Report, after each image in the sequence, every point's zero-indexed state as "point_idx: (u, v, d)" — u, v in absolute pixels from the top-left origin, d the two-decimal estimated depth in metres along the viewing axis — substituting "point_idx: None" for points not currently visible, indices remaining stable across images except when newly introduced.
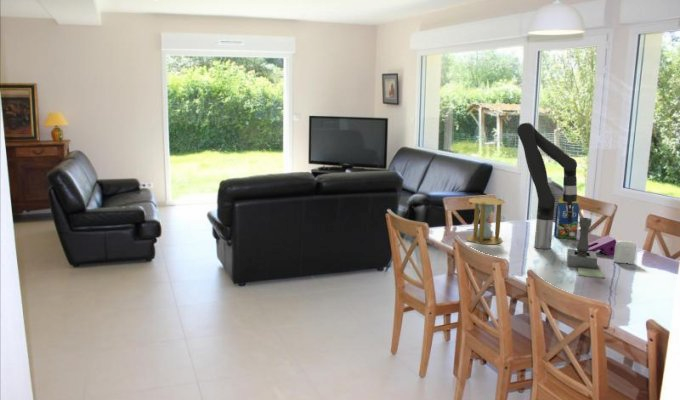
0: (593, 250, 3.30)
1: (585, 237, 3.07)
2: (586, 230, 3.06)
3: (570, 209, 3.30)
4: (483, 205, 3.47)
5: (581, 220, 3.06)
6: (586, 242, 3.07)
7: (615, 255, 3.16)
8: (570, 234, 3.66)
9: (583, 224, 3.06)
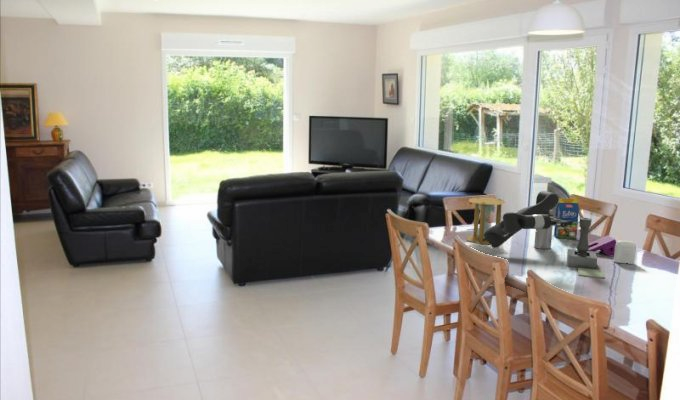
0: (593, 250, 3.30)
1: (585, 237, 3.07)
2: (586, 230, 3.06)
3: (561, 223, 2.96)
4: (483, 205, 3.47)
5: (581, 220, 3.06)
6: (586, 242, 3.07)
7: (615, 255, 3.16)
8: (570, 234, 3.66)
9: (583, 224, 3.06)
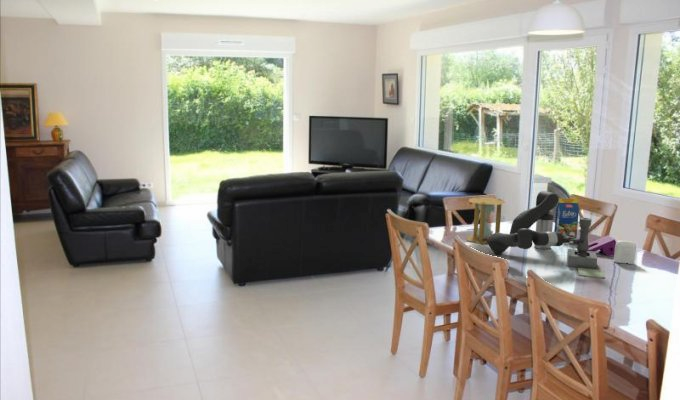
0: (593, 250, 3.30)
1: (585, 237, 3.07)
2: (586, 230, 3.06)
3: (574, 241, 2.98)
4: (483, 205, 3.47)
5: (581, 220, 3.06)
6: (586, 242, 3.07)
7: (615, 255, 3.16)
8: (570, 234, 3.66)
9: (583, 224, 3.06)
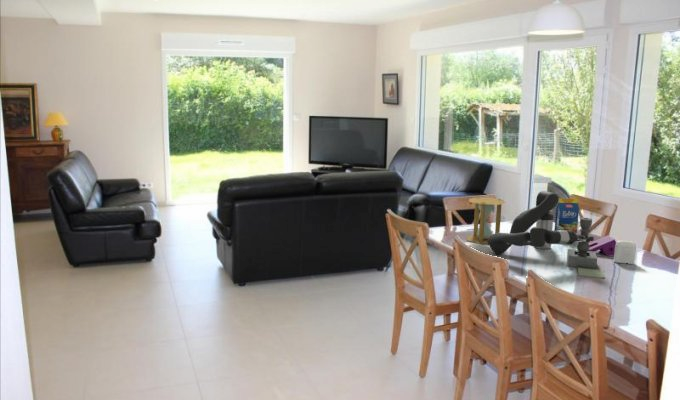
0: (592, 250, 3.30)
1: None
2: (587, 230, 3.06)
3: (586, 239, 3.02)
4: (483, 205, 3.47)
5: (582, 220, 3.06)
6: None
7: (615, 255, 3.16)
8: None
9: (584, 224, 3.05)
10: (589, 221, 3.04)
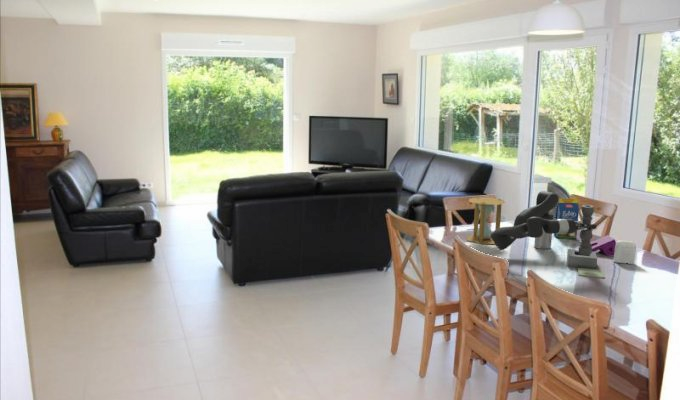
0: (592, 250, 3.30)
1: None
2: (588, 218, 2.96)
3: (587, 228, 2.92)
4: (483, 205, 3.47)
5: (583, 208, 2.96)
6: None
7: (615, 255, 3.16)
8: (570, 234, 3.66)
9: (585, 212, 2.96)
10: (590, 208, 2.94)
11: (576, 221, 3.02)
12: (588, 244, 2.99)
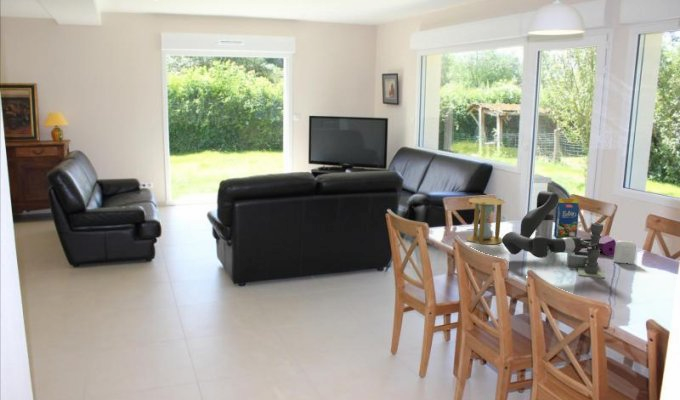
0: None
1: None
2: (597, 236, 2.91)
3: (592, 247, 2.86)
4: (483, 205, 3.47)
5: (592, 225, 2.91)
6: None
7: (615, 255, 3.16)
8: (570, 234, 3.66)
9: (594, 229, 2.91)
10: (600, 226, 2.90)
11: None
12: (595, 263, 2.93)
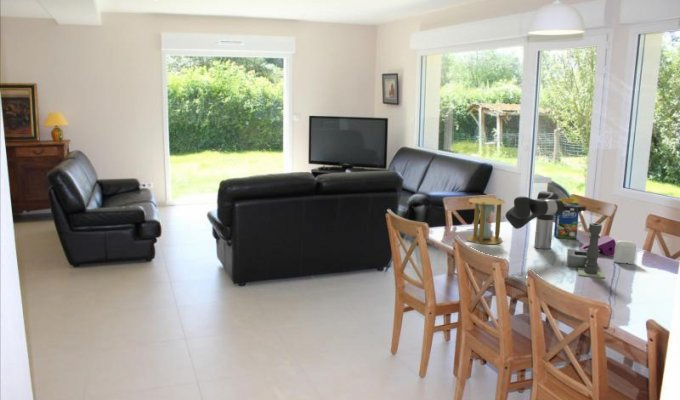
0: None
1: (595, 243, 2.92)
2: (596, 236, 2.91)
3: (575, 209, 2.79)
4: (483, 205, 3.47)
5: (591, 225, 2.91)
6: (596, 249, 2.92)
7: (615, 255, 3.16)
8: (570, 234, 3.66)
9: (593, 230, 2.90)
10: (598, 227, 2.89)
11: None
12: (594, 263, 2.93)
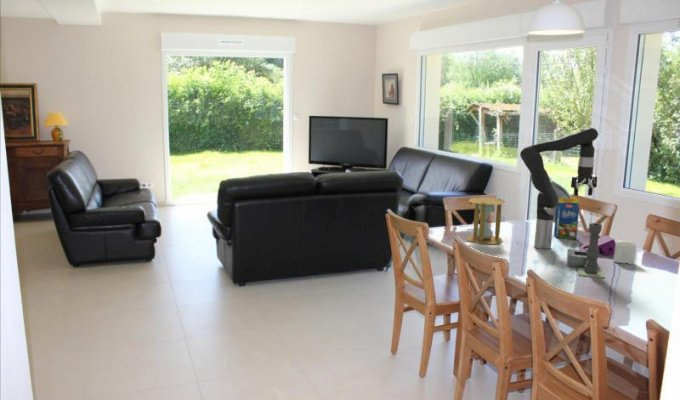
0: None
1: (595, 243, 2.92)
2: (596, 236, 2.91)
3: None
4: (483, 205, 3.47)
5: (591, 225, 2.91)
6: (596, 249, 2.92)
7: (615, 255, 3.16)
8: (570, 234, 3.66)
9: (593, 230, 2.90)
10: (598, 227, 2.89)
11: (573, 183, 3.11)
12: (594, 263, 2.93)
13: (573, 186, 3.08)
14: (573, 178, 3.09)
